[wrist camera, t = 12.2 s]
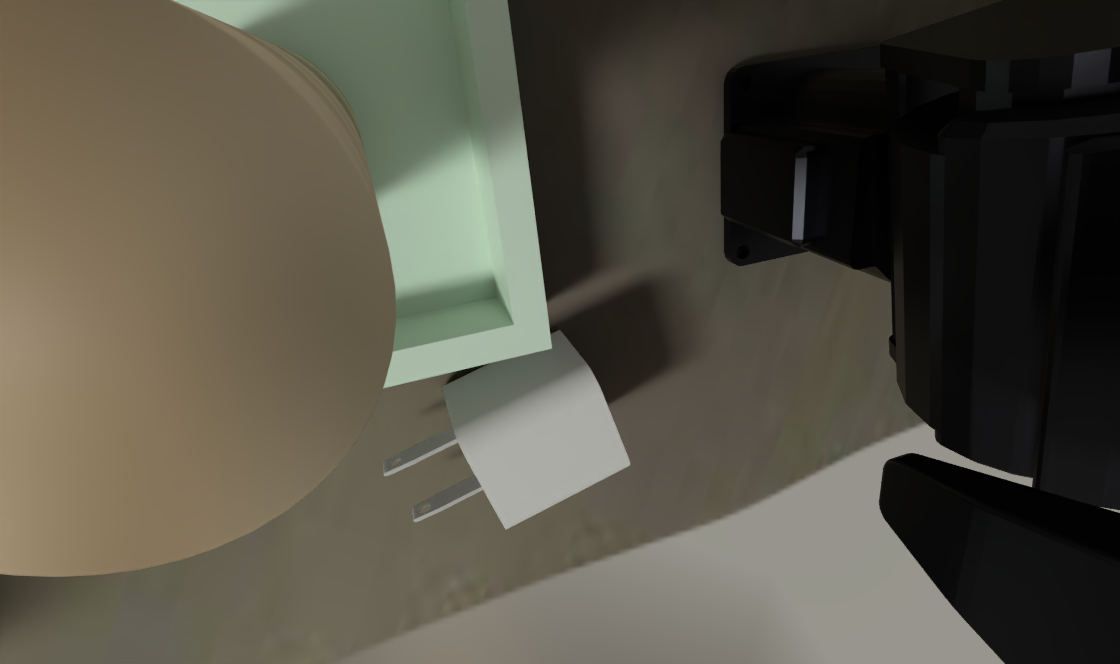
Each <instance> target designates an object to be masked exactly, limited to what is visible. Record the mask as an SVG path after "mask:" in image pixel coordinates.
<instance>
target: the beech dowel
mask: <svg viewBox="0 0 1120 664" xmlns="http://www.w3.org/2000/svg"><path fill="white" fill-rule="evenodd" d="M395 328H396V292H395V282H394V276H393V270H392V264H391V258H390V252H389V248H388V244H387V239H386V235H385V231H384V227H383V223H382V219H381V215H380V211H379V207H378V203H377V199H376V195H375V191H374V187H373V183H372V179H371V175H370V171H369V167H368V163H367V159H366V154H365V150H364V146H363V142H362V138H361V134H360V130H359V127H358V124H357V121H356V118H355V116H354V113H353V111H352V109H351V107H350V105H349V103H348V102H347V100H346V98H345V97H344V95H343V94H342V92H341V91H340V90H339V88H338V87H337V86H336V85H335V83H334V82H333V81H332V80H331V79H330V78H329V77H328V76H327V75H326V74H325V73H324V72H323V71H321V70H320V69H319V68H318V67H317V66H315V65H314V64H313V63H311V62H310V61H308V60H306V59H305V58H303V57H302V56H300V55H298V54H296V53H294V52H292V51H290V50H288V49H285V48H283V47H281V46H278V45H276V44H274V43H271V42H269V41H267V40H264V39H262V38H260V37H257V36H255V35H253V34H250V33H248V32H246V31H243V30H241V29H239V28H236V27H234V26H232V25H229V24H227V23H225V22H222V21H220V20H218V19H215V18H213V17H211V16H208V15H206V14H204V13H201V12H199V11H197V10H194V9H192V8H190V7H187V6H185V5H183V4H180V3H178V2H175V1H173V0H0V574H6V575H20V576H46V577H66V576H86V575H103V574H110V573H117V572H124V571H131V570H138V569H144V568H148V567H153V566H157V565H161V564H165V563H170V562H174V561H178V560H182V559H185V558H188V557H191V556H194V555H197V554H200V553H203V552H206V551H209V550H211V549H214V548H217V547H220V546H222V545H224V544H226V543H228V542H231V541H233V540H235V539H237V538H239V537H242V536H244V535H246V534H248V533H250V532H252V531H254V530H256V529H257V528H259V527H261V526H262V525H264V524H266V523H267V522H269V521H271V520H273V519H274V518H276V517H278V516H279V515H281V514H283V513H284V512H285V511H287V510H288V509H289V508H291V507H292V506H293V505H294V504H296V503H297V502H298V501H300V500H301V499H302V498H304V497H305V496H306V495H308V494H309V493H310V492H311V491H312V490H313V489H314V488H315V487H316V486H317V485H318V484H319V483H321V482H322V481H323V480H324V479H325V478H326V477H327V476H328V475H329V474H330V473H331V472H332V471H333V470H334V469H335V468H336V466H337V465H338V464H339V463H340V461H341V460H342V459H343V458H344V456H345V455H346V454H347V453H348V451H349V450H350V449H351V448H352V446H353V445H354V444H355V442H356V441H357V439H358V437H359V436H360V434H361V432H362V431H363V429H364V427H365V426H366V424H367V422H368V421H369V419H370V417H371V415H372V413H373V411H374V408H375V406H376V404H377V401H378V399H379V397H380V394H381V392H382V390H383V387H384V384H385V380H386V377H387V373H388V369H389V365H390V362H391V358H392V354H393V345H394V336H395Z"/></svg>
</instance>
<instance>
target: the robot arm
mask: <svg viewBox="0 0 1120 664" xmlns="http://www.w3.org/2000/svg"><path fill="white" fill-rule="evenodd" d="M742 75H743V76H744V78H745V85H744V87H743V88H742V90H740V89H739V88H738V80H739V78H740V77H741V76H742ZM721 214H722V215H723V216H724V253H725V257H726V259H727V260H728V261H730V262H732V263H734V264H736V265H738V266H744V265H748V264H753V263H757V262H762V261H767V260H771V259H776V258H780V257H785V256H789V255H794V254H798V253H803V252H808V251H810V252H812V253H815V254H817V255H820V256H822V257H825V258H827V259H830V260H832V261H835V262H837V263H840V264H842V265H845V266H847V267H850V268H852V269H856V270H860V271H863V272H865V273H868V274H870V275H873V276H875V277H878V278H880V279H883V280H885V281H888V282H890V283H891V294H892V329H893V335H892V336H890V337H889V354H890V356H891V357H892V359H893V360H894V361H895V362H896V366H897V383H898V385H899V388H900V390H901V393H902V395H903V398H904V400H905V403H906V404H907V405H908V406H909V407H910V408H911V409H912V410H913V411H914V412H915V413H916V414H917V415H918V416H919V417H920V418H921V419H922V420H923V421H925V422H926V423H927V424H928V425H929V426H930V427H931V428H933V429H935V438H936V441H937V442H938V443H939V444H941V445H942V446H944V447H946V448H948V449H950V450H952V451H954V452H956V453H958V454H960V455H962V456H964V457H966V458H968V459H970V460H972V461H974V462H977V463H980V464H983V465H986V466H989V467H992V468H995V469H998V470H1001V471H1004V472H1007V473H1010V474H1014V475H1019V476H1024V477H1030V478H1033V484H1032V487H1029V486H1025V485H1021V484H1018V483H1015V482H1011V481H1008V480H1005V479H1001V478H998V477H994V476H991V475H988V474H984V473H981V472H977V471H974V470H971V469H967V468H964V467H960V466H957V465H953V464H950V463H946V462H943V461H940V460H936V459H933V458H929V457H926V456H923V455H919V454H915V453H909V454H905V455H901V456H898V457H895V458H892V459H889V460H888V461H887V462H886V463H885V465H884V468H883V474H882V482H881V490H880V499H879V506H880V510H881V513H882V515H883V517H884V519H885V520H886V522H887V523H888V524H889V526H890V527H891V528H892V530H893V531H894V532H895V533H896V535H897V536H898V537H899V539H900V540H901V541H902V542H903V543H904V545H905V546H906V548H907V549H908V550H909V551H910V553H911V554H912V555H913V557H914V558H915V559H916V560H917V562H918V563H919V564H920V565H921V567H922V568H923V569H924V571H925V572H926V573H927V575H928V576H929V577H930V579H931V580H932V581H933V582H934V584H935V585H936V586H937V588H938V589H939V590H940V591H941V593H942V594H943V595H944V596H945V598H946V599H947V600H948V601H949V602H950V603H951V605H952V606H953V607H954V609H955V610H956V611H957V612H958V613H959V614H960V615H961V616H962V618H963V619H964V620H965V621H966V622H967V623H968V624H969V625H970V626H971V627H972V629H973V630H974V631H975V632H976V633H977V634H978V635H979V636H980V637H981V638H982V639H983V640H984V641H985V643H986V644H987V645H988V646H989V647H990V648H991V649H992V650H993V651H994V652H995V653H996V654H997V656H998V657H999V658H1000V659H1001V660H1002V661H1003V662H1004V663H1005V664H1120V513H1117V512H1114V511H1111V510H1107V509H1104V508H1101V507H1105V508H1110V509H1116V510H1120V0H1003V1H1000V2H997V3H994V4H991V5H988V6H985V7H982V8H979V9H976V10H974V11H971V12H968V13H965V14H962V15H959V16H956V17H953V18H950V19H947V20H944V21H941V22H938V23H935V24H932V25H929V26H926V27H924V28H921V29H918V30H915V31H912V32H909V33H906V34H903V35H900V36H897V37H894V38H891V39H888V40H885V41H883V42H881V43H880V46H875V47H868V48H861V49H854V50H847V51H839V52H832V53H825V54H818V55H811V56H804V57H796V58H789V59H782V60H775V61H768V62H760V63H753V64H746V65H739V66H736V67H733V68H732V69H731V70H730V71H729V72H728V73H727V75H726V77H725V81H724V137H723V138H722V140H721ZM742 245H743V251H742V253H741V254H740V255H738V256H737V254H736V253H737V249H738V248H739V247H740V246H742Z"/></svg>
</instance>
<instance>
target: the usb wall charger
mask: <svg viewBox="0 0 1120 664" xmlns="http://www.w3.org/2000/svg"><path fill="white" fill-rule="evenodd" d="M550 336H551V343H552V349H548V350H544V351H539V352H535V353H531V354H527V355H522V356H518V357H514V358H510V359H505V360H501V361H497V362H493V363H490V364H488V365H486V366H483V367H481V368H479V369H477V370H475V371H473V372H471V373H469V374H467V375H465V376H463V377H461V378H459V379H457V380H455V381H452V382H450V383H448V384H446V385H444V386H442V387H441V388H442V392H443V395H444V399H445V402H446V406H447V409H448V413H449V416H450V420H451V424H452V427H451V428H449V429H447V430H445V431H443V432H441V433H439V434H437V435H435V436H433V437H431V438H429V439H427V440H424V441H422V442H420V443H418V444H416V445H414V446H412V447H410V448H408V449H406V450H405V451H403V452H401V453H399V454H397V455H395V456H394V457H392V458H390V459H388V460H386V461H384V462H383V471H384V476H389V475H391V474H393V473H395V472H398V471H400V470H402V469H404V468H406V467H409V466H411V465H413V464H415V463H417V462H419V461H421V460H423V459H425V458H427V457H429V456H431V455H433V454H435V453H437V452H439V451H441V450H443V449H445V448H447V447H449V446H451V445H453V444H455V443H457V442H458V443H459V445H460V447H461V450H462V452H463V454H464V456H465V458H466V460H467V461H468V463H469V465H470V467H471V469H472V470H473V472H474V474H475V475H473V476H471V477H469V478H467V479H465V480H463V481H461V482H459V483H457V484H455V485H453V486H451V487H449V488H447V489H446V490H444V491H442V492H440V493H438V494H436V495H434V496H432V497H430V498H429V499H427V500H425V501H423V502H421V503H420V504H418V505H416V506H414V507H413V508H412V512H413V519H414V522H418V521H420V520H423V519H425V518H427V517H429V516H431V515H434V514H436V513H438V512H440V511H442V510H444V509H446V508H448V507H450V506H452V505H454V504H456V503H458V502H460V501H462V500H464V499H466V498H468V497H470V496H472V495H474V494H476V493H478V492H480V491H482V490H484V492H485V494H486V495H487V497H488V499H489V501H490V503H491V504H492V506H493V508H494V510H495V512H496V513H497V515H498V517H499V519H500V520H501V522H502V524H503V526H504V527H505V529H508V528H510V527H512V526H514V525H516V524H518V523H520V522H522V521H524V520H526V519H527V518H529V517H531V516H533V515H535V514H537V513H539V512H541V511H543V510H545V509H547V508H549V507H551V506H553V505H554V504H556V503H558V502H560V501H562V500H564V499H566V498H568V497H570V496H572V495H574V494H576V493H578V492H580V491H581V490H583V489H585V488H587V487H589V486H591V485H593V484H595V483H597V482H599V481H601V480H603V479H605V478H607V477H608V476H610V475H612V474H614V473H616V472H618V471H620V470H622V469H624V468H626V467H628V466H630V461H629V458H628V456H627V453H626V451H625V448H624V446H623V443H622V441H621V438H620V436H619V433H618V431H617V428H616V426H615V423H614V421H613V418H612V415H611V413H610V410H609V408H608V405H607V403H606V400H605V398H604V395H603V393H602V390H601V388H600V386H599V384H598V382H597V380H596V378H595V376H594V374H593V372H592V371H591V369H590V367H589V366H588V364H587V363H586V362H585V361H584V359H583V358H582V357H581V356H580V354H579V353H578V352H577V351H576V349H575V348H574V347H573V345H572V344H571V343H570V342H569V340H568V339H567V338H566V337H565V335H564V334H563V333H562V332H561V331H560V330H558V331H556V332H554V333H552V334H550ZM398 460H402V461H401V462H400V463H399V464H398V465H397V466H395V467H392V468H390V466H391V465H392V464H393V463H394V462H396V461H398ZM428 505H430V506H431V507H430V509H429V510H428V511H427V512H425V513H423V514H419V512H420V510H421V509H422V508H423V507H425V506H428Z"/></svg>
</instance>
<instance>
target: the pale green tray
mask: <svg viewBox="0 0 1120 664" xmlns="http://www.w3.org/2000/svg"><path fill="white" fill-rule="evenodd" d="M173 1H175V2H178V3H180V4H183V5H185V6H187V7H190V8H192V9H194V10H197V11H199V12H201V13H204V14H206V15H208V16H211V17H213V18H215V19H218V20H220V21H222V22H225V23H227V24H229V25H232V26H234V27H236V28H239V29H241V30H243V31H246V32H248V33H250V34H253V35H255V36H257V37H260V38H262V39H264V40H267V41H269V42H271V43H274V44H276V45H278V46H281V47H283V48H285V49H288V50H290V51H292V52H294V53H296V54H298V55H300V56H302V57H303V58H305V59H306V60H308V61H310V62H311V63H313V64H314V65H315V66H317V67H318V68H319V69H320V70H321V71H323V72H324V73H325V74H326V75H327V76H328V77H329V78H330V79H331V80H332V81H333V82H334V83H335V85H336V86H337V87H338V88H339V90H340V91H341V92H342V94H343V95H344V97H345V98H346V100H347V102H348V103H349V105H350V107H351V109H352V111H353V113H354V116H355V118H356V121H357V124H358V127H359V130H360V134H361V138H362V142H363V146H364V150H365V154H366V159H367V163H368V167H369V171H370V175H371V179H372V183H373V187H374V191H375V195H376V199H377V203H378V207H379V211H380V215H381V219H382V223H383V227H384V231H385V235H386V239H387V244H388V248H389V252H390V258H391V264H392V270H393V276H394V282H395V292H396V328H395V336H394V345H393V354H392V358H391V362H390V365H389V369H388V373H387V377H386V380H385V384H384V387H383V388H386V387H390V386H395V385H399V384H403V383H407V382H412V381H416V380H420V379H424V378H429V377H433V376H437V375H442V374H446V373H450V372H454V371H459V370H463V369H467V368H471V367H476V366H480V365H484V364H488V363H493V362H497V361H501V360H505V359H510V358H514V357H518V356H522V355H527V354H531V353H535V352H539V351H544V350H548V349H552V343H551V336H550V328H549V320H548V312H547V304H546V297H545V289H544V281H543V273H542V266H541V258H540V250H539V242H538V234H537V227H536V219H535V211H534V203H533V195H532V188H531V180H530V172H529V164H528V157H527V149H526V141H525V133H524V125H523V118H522V110H521V102H520V94H519V87H518V79H517V71H516V63H515V55H514V48H513V40H512V32H511V24H510V16H509V9H508V1H507V0H173Z"/></svg>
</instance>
